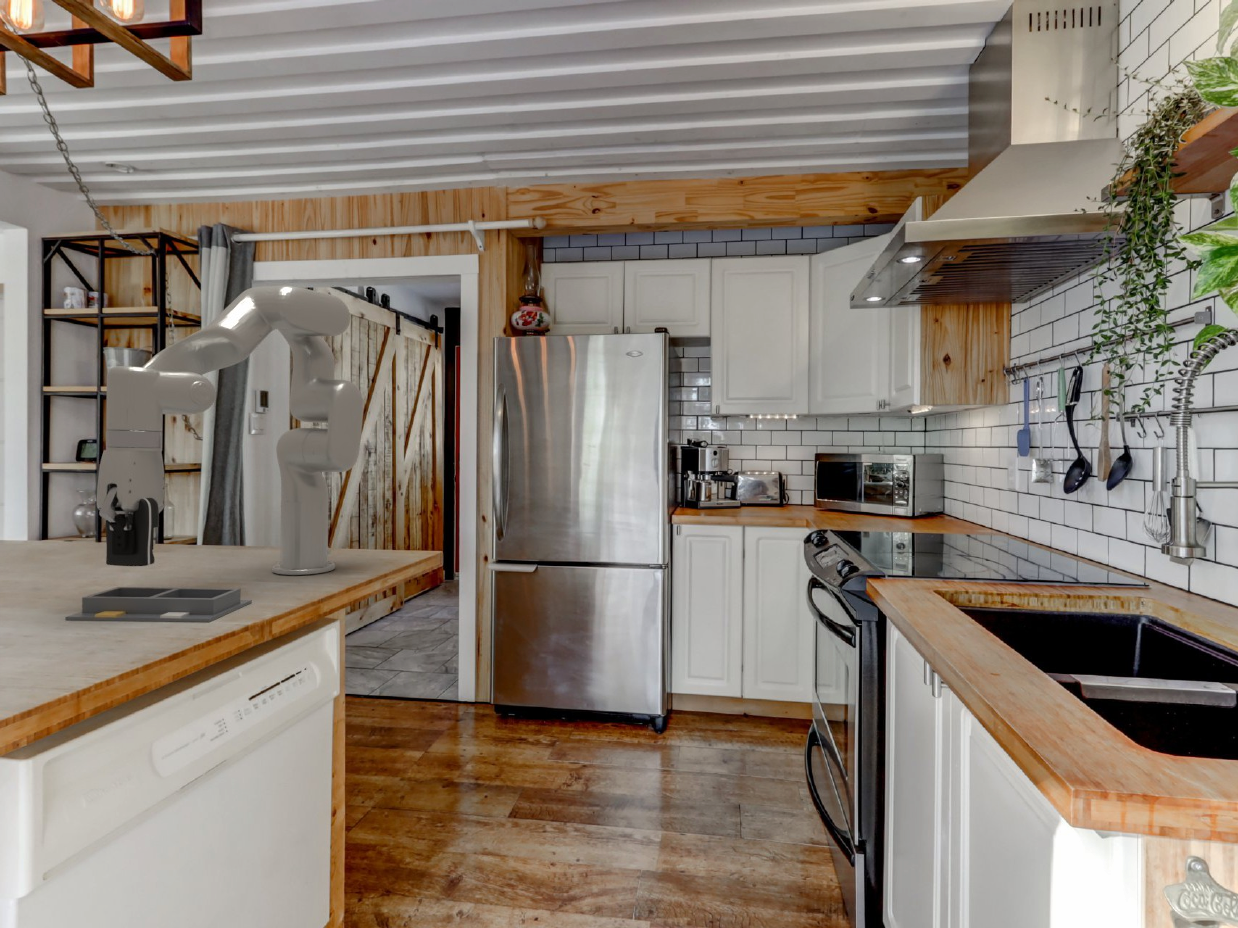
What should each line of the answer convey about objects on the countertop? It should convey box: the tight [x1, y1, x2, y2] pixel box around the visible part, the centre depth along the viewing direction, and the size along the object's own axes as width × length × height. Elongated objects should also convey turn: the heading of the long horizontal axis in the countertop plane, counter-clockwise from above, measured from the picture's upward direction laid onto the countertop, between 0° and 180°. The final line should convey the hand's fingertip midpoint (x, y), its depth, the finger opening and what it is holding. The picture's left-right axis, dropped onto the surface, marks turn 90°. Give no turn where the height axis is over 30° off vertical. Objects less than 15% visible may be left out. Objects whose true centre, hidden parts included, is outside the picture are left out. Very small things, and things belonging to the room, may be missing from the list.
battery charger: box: [105, 498, 160, 567], centre depth 110 cm, size 7×4×11 cm, turn 89°
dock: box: [64, 586, 253, 623], centre depth 111 cm, size 13×22×3 cm, turn 92°
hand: (133, 551), depth 110 cm, fingers closed on battery charger, 3 cm apart
